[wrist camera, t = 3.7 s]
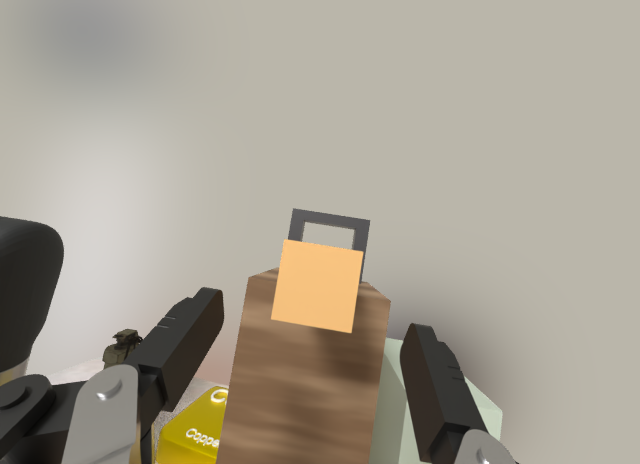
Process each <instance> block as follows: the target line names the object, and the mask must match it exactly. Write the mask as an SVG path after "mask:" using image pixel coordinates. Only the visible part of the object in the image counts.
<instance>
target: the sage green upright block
mask: <svg viewBox="0 0 640 464" xmlns="http://www.w3.org/2000/svg"><path fill="white" fill-rule="evenodd" d="M402 343H403V341H401V340H395V339H390V338H386V339H385V347H384V354H383V361H382V368H381V376H380V383H379V390H378V397H377V405H376V412H375V419H374V426H373V434H372V441H371V448H370V455H369V463H368V464H432V463H426V462H421V461H420V459H419V454H418V449H417V444H416V439H415V434H414V430H413V425H412V420H411V415H410V410H409V405H408V400H407V395H406V391H405V386H404V381H403V376H402V371H401V366H400V349H401V346H402ZM464 378H465V382H466V383H467V385H468V387H469V389H470V391H471V394H472V396H473V398H474V401H475V403H476V405H477V407H478V410H479V412H480V414H481V417H482V419H483V421H484V423H485V426H486V428H487V430H488V432H489V434H490V435H492V436H493V437H494V438H496V439H497V440H498V441H499V442H500V433H501V424H502V414H503V412H502V410H500V409H499V408H498V407H497V406H496V405H495V404H494V403H493V402H492V401H491V400H490V399H488V398H487V397H486V396H485V395H484V394H483V393H482V392H481V391H480V390H479V389H478V388H477V387H475V386H474V385H473V384H472V383H471V382H470V381H469V380H468V379H467V378H466V377H465V376H464Z"/></svg>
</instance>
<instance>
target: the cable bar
mask: <svg viewBox="0 0 640 464" xmlns="http://www.w3.org/2000/svg"><path fill="white" fill-rule="evenodd" d="M362 258H363V252H362V251H356V250H349V249H344V248H337V247H331V246H324V245H318V244H311V243H306V242H300V241H293V240H287V239H284V245H283V250H282V256H281V262H280V268H279V274H278V280H277V285H276V291H275V297H274V303H273V309H272V315H271V319H272V320H278V321H284V322H289V323H295V324H301V325H307V326H312V327H318V328H324V329H330V330H335V331H341V332H347V333H351V332H352V326H353V319H354V312H355V305H356V298H357V292H358V285H359V278H360V271H361V265H362Z"/></svg>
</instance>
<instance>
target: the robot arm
mask: <svg viewBox="0 0 640 464" xmlns="http://www.w3.org/2000/svg"><path fill="white" fill-rule="evenodd" d="M63 257H64V247H63V242H62V239H61V237H60V235H59V234H58V233H57V232H56V230H54V229H53V228H51V227H49V226H48V225H45V224H41V223H38V222H33V221H27V220H20V219H14V218H8V217H1V216H0V464H155V454H154V421H155V419H156V417H157V416H158V414H159V413H160V411H161V410H162V411H167V412H173V410H174V409H175V407H176V405H177V404H178V402H179V400H180V398H181V397H182V395H183V393H184V392H185V390H186V388H187V387H188V385H189V383H190V381H191V380H192V378H193V376H194V375H195V373H196V371H197V370H198V368H199V366H200V364H201V363H202V361H203V359H204V358H205V356H206V354H207V353H208V351H209V349H210V348H211V346H212V344H213V342H214V341H215V339H216V337H217V335H218V334H219V332H220V330H221V328H222V325H223V321H224V307H223V293H222V291H221V290H218V289H212V288H205V287H203V288H201V289H200V290H199V291H198V292H197V294H196V295H195V296H194V297H193V298H188V297H187V298H185V299H184V300H182V301H181V302H179V303H177V304H176V305H174V306H173V307H172V308H171V310H170V311H169V312H168V313H167V314H166V315H165V317H164V318H162V319H161V321H160V322H159V323H158V324H157V326H155V327H154V328H153V329H152V330H151V332H150V333H149V334H148V335H147V336H146V337H145V338H144V339H143V340H142V342H141V343H140V344H139V345H138V346H137V347H136V348H135V349H134V350H133V351H132V353H131V354H130V355H129V356H128V357H127V358H126V359H125V360H124V361H123V362H122V363H121V364H120V365H115V366H112V367H109V368H106V369H104V370H102V371H100V372H99V373H97V374H96V375H94V376H93V377H91V378H90V379H89V380H87V381H81V382H73V383H66V384H59V385H51V383H50V382H49V380H48V379H47V377H45V376H43V375H39V374H33V375H27V376H25V374H26V370H27V365H28V361H29V356H30V353H31V349H32V345H33V343H34V341H35V339H36V337H37V336H38V334H39V333H40V331H41V329H42V327H43V325H44V323H45V321H46V318H47V314H48V311H49V307H50V304H51V300H52V298H53V294H54V291H55V288H56V285H57V282H58V278H59V275H60V271H61V268H62V263H63ZM400 366H401V371H402V376H403V381H404V386H405V391H406V395H407V400H408V405H409V410H410V415H411V420H412V425H413V430H414V434H415V439H416V444H417V449H418V454H419V459H420V461H421V462H426V463H432V464H519V463H517V462H516V461H514V459H513V457H512V456H511V455H510V453H509V451H508V450H507V449H506V448H505V447H504V446H503V445H502V444H501V443H500V442H499V441H498V440H497V439H496V438H494V437H493V436H492V435H490V434H489V432H488V430H487V428H486V426H485V423H484V421H483V419H482V417H481V414H480V412H479V410H478V407H477V405H476V403H475V401H474V398H473V396H472V394H471V391H470V389H469V387H468V385H467V383H466V382H465V378H464V375H463V373H462V371H460V366H459V364H458V362H457V360H456V357H455V355H454V354H453V353H452V351H451V350H450V349H449V348H448V346H447V345H446V344H445V343H444V342H439V341H437V338H436V335H435V333H434V330H433V329H432V327H431V326H426V325H419V324H414V323H412V324H410V326H409V328H408V331H407V333H406V336H405V338H404V341H403V343H402V346H401V349H400Z"/></svg>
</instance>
